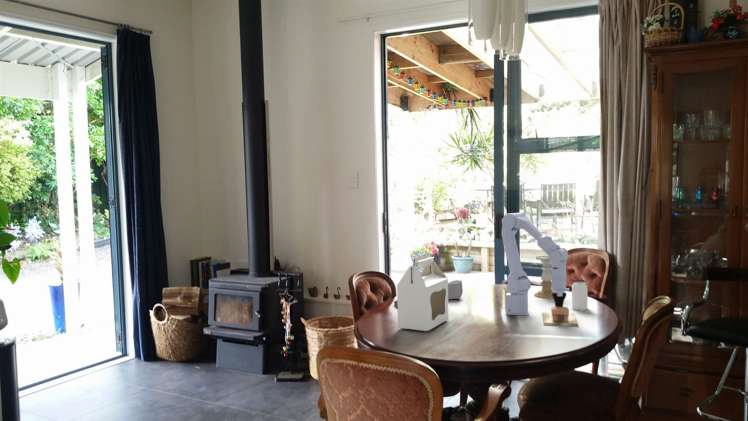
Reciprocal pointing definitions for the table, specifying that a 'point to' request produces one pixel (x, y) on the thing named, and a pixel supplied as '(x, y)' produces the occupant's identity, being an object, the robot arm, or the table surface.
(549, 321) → the rail board
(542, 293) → the candle holder
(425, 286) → the gable box
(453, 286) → the decorative stone
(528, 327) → the table surface
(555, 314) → the block
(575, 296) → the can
